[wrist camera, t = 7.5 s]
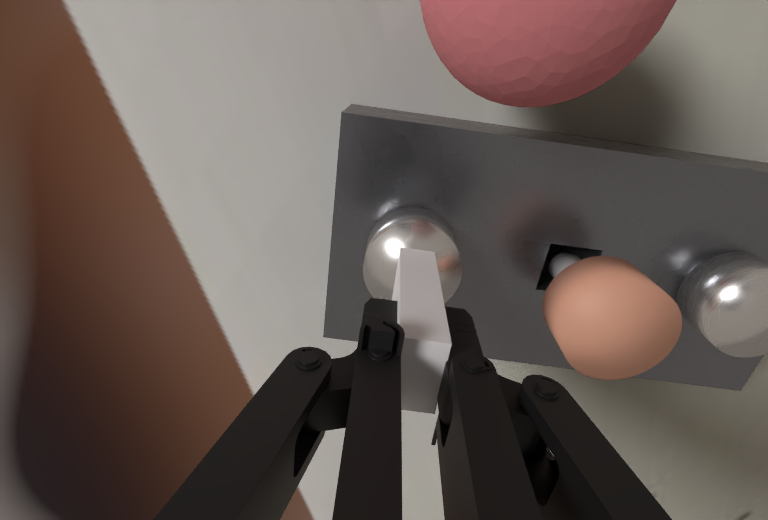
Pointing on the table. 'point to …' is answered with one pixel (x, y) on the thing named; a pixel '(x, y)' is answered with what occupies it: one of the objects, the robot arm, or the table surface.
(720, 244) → the mount plate
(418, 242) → the knob
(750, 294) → the knob
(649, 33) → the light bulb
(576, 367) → the knob
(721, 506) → the table surface
